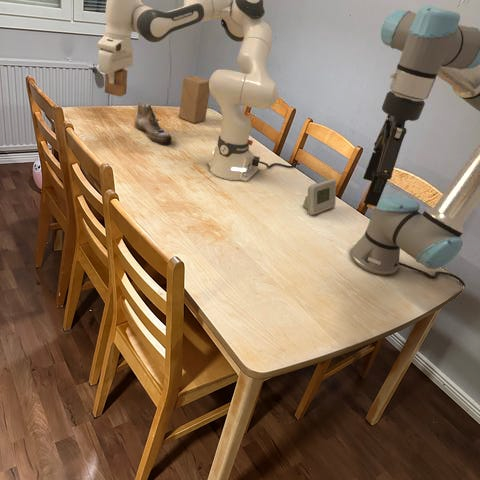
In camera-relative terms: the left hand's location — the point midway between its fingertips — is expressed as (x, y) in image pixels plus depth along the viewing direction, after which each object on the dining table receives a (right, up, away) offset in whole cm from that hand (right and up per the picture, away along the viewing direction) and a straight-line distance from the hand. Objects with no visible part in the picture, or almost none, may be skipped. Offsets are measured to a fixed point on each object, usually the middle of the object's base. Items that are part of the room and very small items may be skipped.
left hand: (116, 81), depth 163 cm
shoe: (+7, -12, +34) cm, 37 cm away
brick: (-1, -3, +2) cm, 4 cm away
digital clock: (+75, -47, +4) cm, 89 cm away
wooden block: (+21, +3, +63) cm, 67 cm away
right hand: (+75, -48, -66) cm, 110 cm away
